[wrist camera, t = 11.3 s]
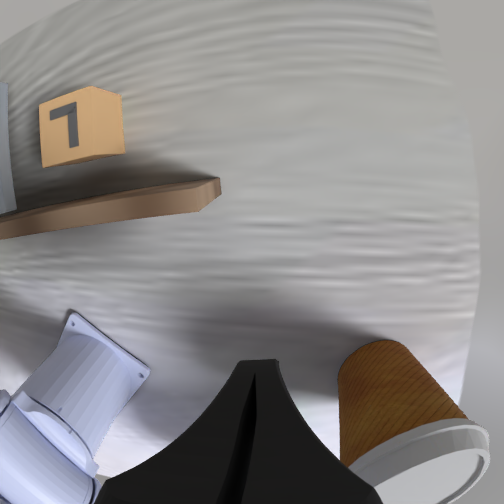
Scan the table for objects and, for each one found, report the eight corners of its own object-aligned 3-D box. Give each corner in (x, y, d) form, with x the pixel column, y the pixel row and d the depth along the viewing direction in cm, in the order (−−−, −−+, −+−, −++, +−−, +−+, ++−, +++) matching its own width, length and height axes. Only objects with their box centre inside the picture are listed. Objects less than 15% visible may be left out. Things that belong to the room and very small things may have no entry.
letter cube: (121, 95, 18) (89, 85, 14) (125, 153, 19) (93, 154, 15) (73, 109, 18) (37, 104, 14) (77, 163, 19) (41, 168, 15)
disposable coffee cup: (331, 425, 24) (347, 542, 13) (302, 345, 22) (318, 489, 11) (431, 390, 23) (482, 492, 11) (424, 302, 20) (512, 411, 9)
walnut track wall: (219, 177, 19) (195, 188, 13) (221, 194, 19) (198, 211, 13) (-2, 217, 21) (-52, 236, 15) (0, 228, 21) (-49, 249, 15)
